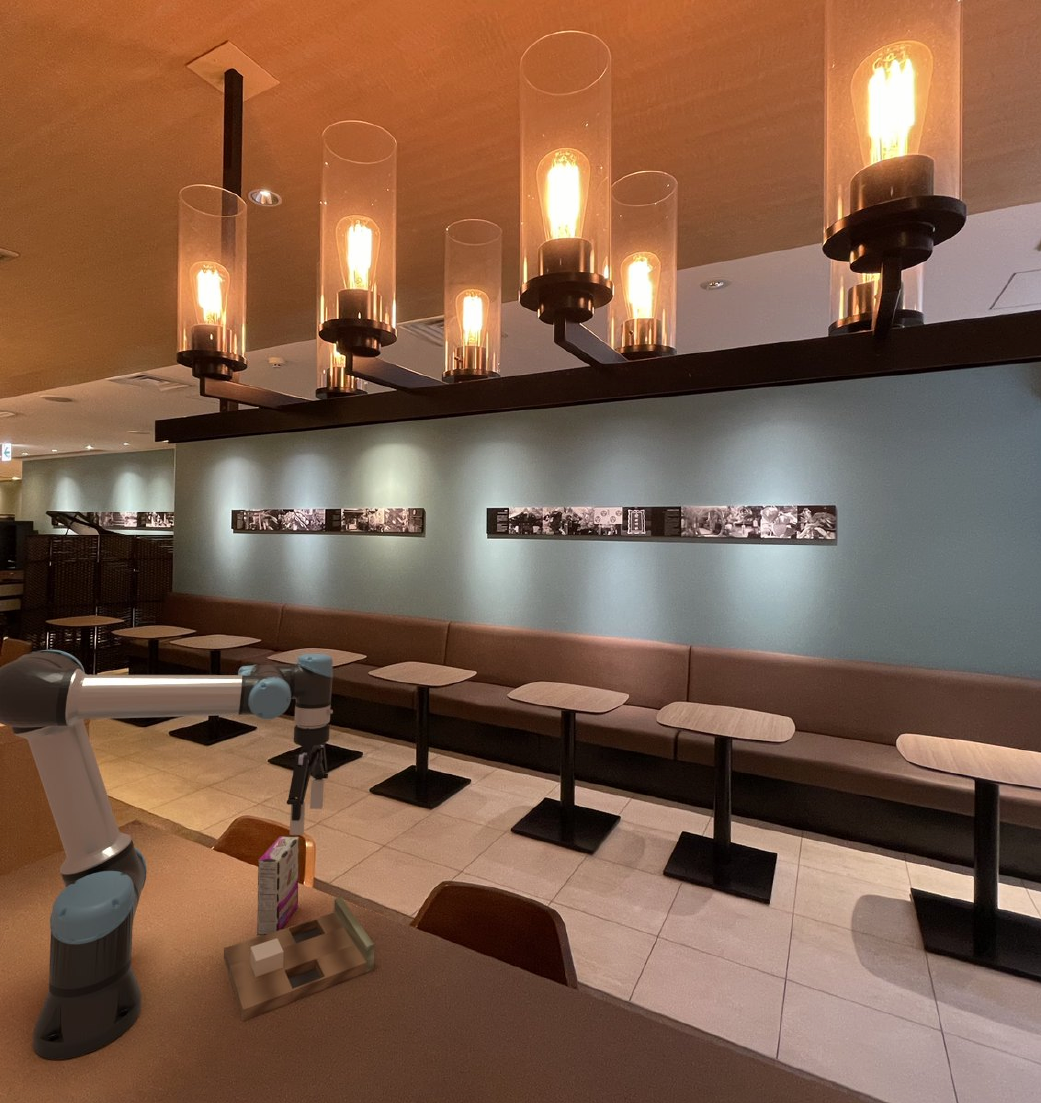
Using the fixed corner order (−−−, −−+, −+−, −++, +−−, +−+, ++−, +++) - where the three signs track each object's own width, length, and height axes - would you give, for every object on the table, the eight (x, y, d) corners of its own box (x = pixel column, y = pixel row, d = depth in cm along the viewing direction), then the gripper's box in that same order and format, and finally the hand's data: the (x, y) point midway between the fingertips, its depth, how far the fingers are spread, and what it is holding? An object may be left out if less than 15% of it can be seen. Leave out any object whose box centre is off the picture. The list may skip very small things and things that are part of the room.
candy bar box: (277, 906, 138) (279, 835, 139) (298, 906, 138) (300, 836, 139) (254, 936, 127) (257, 859, 127) (277, 936, 127) (280, 860, 127)
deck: (242, 1021, 103) (243, 992, 104) (223, 958, 120) (224, 933, 120) (373, 969, 117) (374, 944, 117) (340, 919, 134) (341, 897, 134)
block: (255, 977, 112) (256, 961, 112) (250, 962, 116) (250, 947, 116) (283, 967, 115) (283, 951, 115) (276, 953, 119) (277, 938, 119)
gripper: (311, 740, 119) (306, 847, 118) (343, 711, 144) (338, 799, 143) (274, 739, 119) (268, 846, 118) (312, 710, 144) (307, 798, 143)
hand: (306, 820), depth 131 cm, fingers open, 13 cm apart
